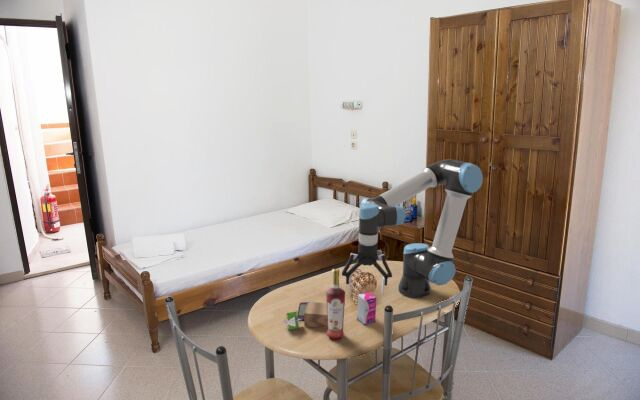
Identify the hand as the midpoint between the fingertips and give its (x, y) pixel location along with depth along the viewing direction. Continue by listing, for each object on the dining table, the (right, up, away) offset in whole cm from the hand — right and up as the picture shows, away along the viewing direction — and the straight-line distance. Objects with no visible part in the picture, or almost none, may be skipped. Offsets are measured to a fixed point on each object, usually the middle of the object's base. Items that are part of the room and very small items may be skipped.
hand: (366, 291), depth 189 cm
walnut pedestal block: (-20, -13, +4) cm, 24 cm away
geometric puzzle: (-30, -15, -1) cm, 33 cm away
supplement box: (0, -13, +4) cm, 14 cm away
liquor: (-13, -16, -8) cm, 22 cm away
